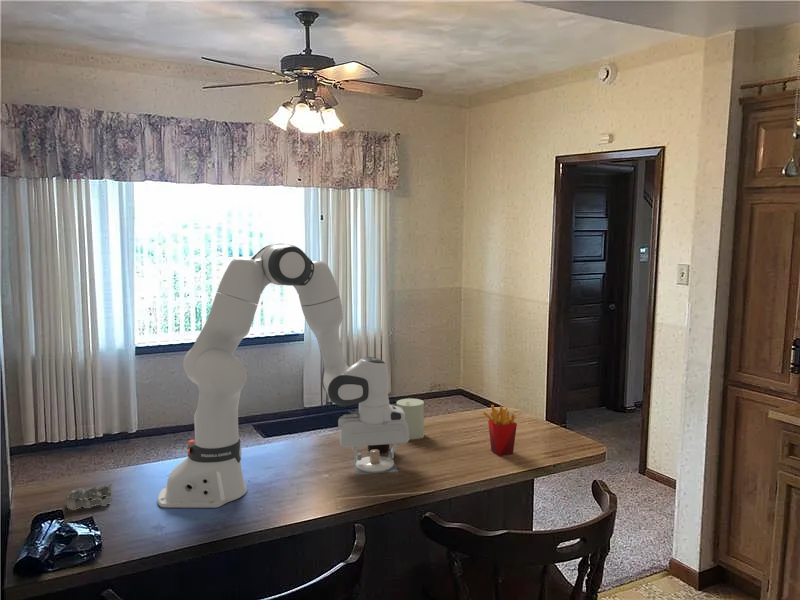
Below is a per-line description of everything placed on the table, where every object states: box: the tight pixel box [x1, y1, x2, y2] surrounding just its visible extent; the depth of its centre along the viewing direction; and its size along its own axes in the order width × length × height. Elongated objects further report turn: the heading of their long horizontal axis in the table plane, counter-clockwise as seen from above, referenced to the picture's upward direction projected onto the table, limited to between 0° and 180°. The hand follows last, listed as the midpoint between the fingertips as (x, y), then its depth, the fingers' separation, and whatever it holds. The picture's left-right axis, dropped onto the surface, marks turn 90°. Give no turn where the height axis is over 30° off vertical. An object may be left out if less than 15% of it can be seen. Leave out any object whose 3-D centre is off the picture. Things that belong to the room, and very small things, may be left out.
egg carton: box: [65, 483, 113, 509], centre depth 173 cm, size 11×8×4 cm
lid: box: [356, 449, 395, 472], centre depth 196 cm, size 11×11×4 cm
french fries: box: [482, 404, 518, 457], centre depth 204 cm, size 9×8×15 cm
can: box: [396, 397, 425, 440], centre depth 222 cm, size 9×9×12 cm
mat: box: [352, 458, 399, 476], centre depth 196 cm, size 12×12×1 cm
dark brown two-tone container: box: [367, 444, 391, 455], centre depth 209 cm, size 12×9×10 cm
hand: (374, 458), depth 196 cm, fingers open, 8 cm apart
